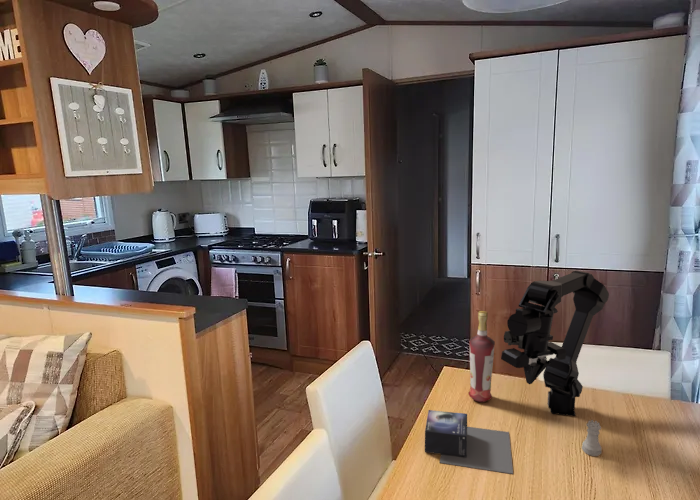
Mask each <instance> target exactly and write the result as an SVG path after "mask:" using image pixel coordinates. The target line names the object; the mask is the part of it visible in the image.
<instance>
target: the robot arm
mask: <svg viewBox="0 0 700 500" xmlns="http://www.w3.org/2000/svg"><path fill="white" fill-rule="evenodd" d="M572 293H573V298H572V300H573V301H572V302H573V304H574V308H575V310H574V312H573V315H572V318H571V320H570V323H569V325H568V328H567V331H566V335H565V337H564V339H563V341H562V345H559V344H556V343H555V342H552V341H553V338H554V335H551V329H552V324H553V319H554V314H557V313H558V312H559V311H558V309H557V308H556V306H557V305H558V304H560V303H561V302H562V297H565V296H568V294H572ZM609 296H610V295H609V291H608V289H607V288H606V286H605V285H604V284H603V283H602V282H600V281H599V280H598V279H596V278H595V277H594V275H593V274H591V273H590V272H588V271H587V272H586V271H580V270H572V271H571V272H570V273H569V274H566V275H563V276H561V277H558V278H556V279H553V280H535V281H532V282H531V283H530V284H529V285H528V287H527V288H526V290H525V292H524V294H523V296H522V298H521V299H520V301H519V304H518V307H519V308H518V307H517V308H516V309H515V313H512V314H511V315H510V316H509V317H508V319H507V328H508V330H505V331H504V334H503V342H504V343H505V344H507V346H512V345H513V346H517V348H515V347H512V348H507V349H504V350H502V351H501V355H500V360H502V361H503V362H505V363H506V364H509V365H510V366H512V367H514V368H517V369H521V368H523V371H524V376H525V381H526V384H528V385H531V384H533V383H534V382H535V381H536V379H537V378H538V377H539V376H540V375H541V373H542V372H543V373H542V375H543V376H542V377H543V381H544V386H545V388H548V389H550V390H549V391H548V392H547V404H546V405H547V407H548V409H549V411H550V414H552V415H561V416H571V417H575V416H576V412H575V408H576V407H575V406H576V398H580V396H581V394H582V392H583V388H584V386H583V385H582V383H581V381H579V379H578V378H579V374H580V373H579V369H578V365H577V361H578V358H579V356H580V352H581V350H582V347H583V344H584V342H585V339H586V336H587V334H588V330H589V328H590V326H591V322H592V320H593V317H595V315H597V314H598V313H600V312H601V311H603V308H604V307H605V304H606V303H607V301H608V300H609ZM519 349H520V350H523V351H520V350H519ZM553 355H555V357H553V358H552V357H550V358H549V359H548V357H547V356H553Z"/></svg>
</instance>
